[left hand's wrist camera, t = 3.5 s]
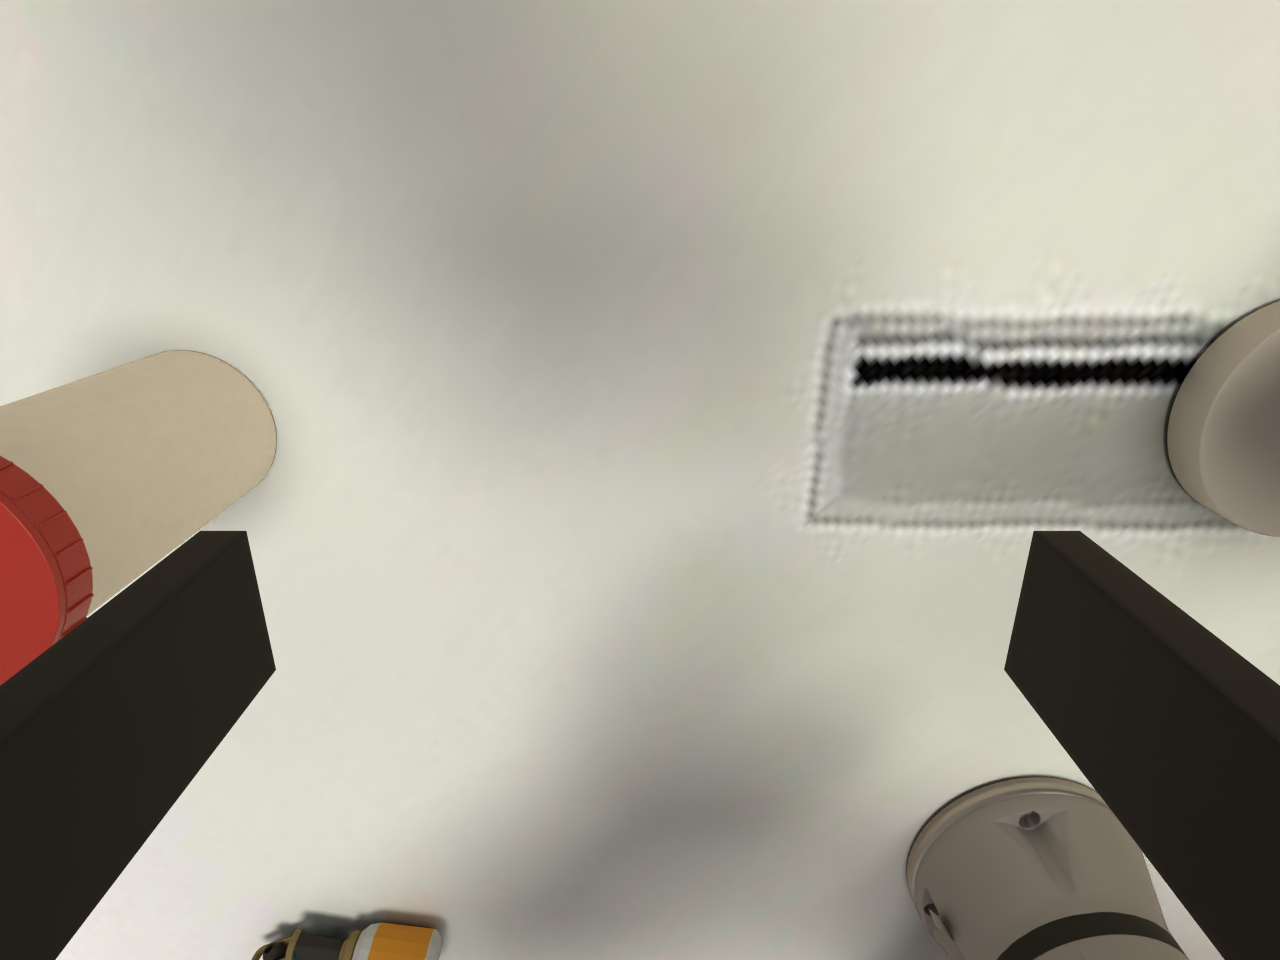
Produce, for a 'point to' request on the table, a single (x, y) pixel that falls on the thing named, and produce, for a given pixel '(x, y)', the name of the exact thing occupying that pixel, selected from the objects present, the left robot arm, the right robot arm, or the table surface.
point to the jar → (142, 455)
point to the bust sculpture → (1233, 425)
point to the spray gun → (359, 945)
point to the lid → (37, 571)
